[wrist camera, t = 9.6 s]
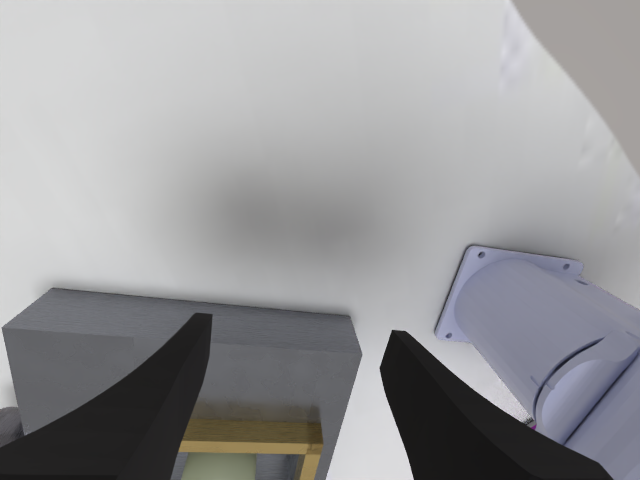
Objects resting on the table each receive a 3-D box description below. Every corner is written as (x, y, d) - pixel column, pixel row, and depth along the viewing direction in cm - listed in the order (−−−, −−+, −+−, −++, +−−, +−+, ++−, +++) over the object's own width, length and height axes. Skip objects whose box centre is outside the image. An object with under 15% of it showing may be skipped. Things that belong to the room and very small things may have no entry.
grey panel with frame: (350, 316, 24) (368, 372, 19) (302, 499, 32) (305, 573, 27) (-2, 283, 20) (-98, 342, 15) (42, 501, 28) (-11, 587, 23)
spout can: (271, 413, 27) (267, 528, 20) (235, 447, 28) (219, 568, 21) (221, 388, 25) (196, 502, 18) (185, 425, 26) (148, 547, 19)
